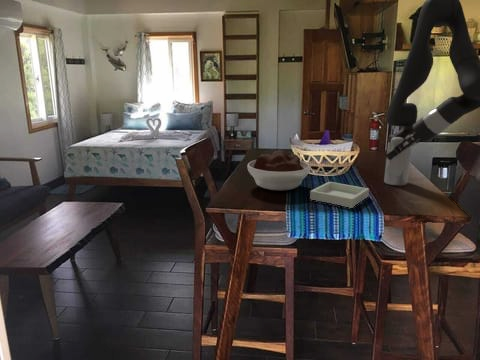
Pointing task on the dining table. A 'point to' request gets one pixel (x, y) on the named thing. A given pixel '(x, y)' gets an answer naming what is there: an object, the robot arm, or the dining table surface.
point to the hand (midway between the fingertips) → (389, 156)
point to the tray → (339, 194)
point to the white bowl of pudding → (278, 171)
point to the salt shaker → (395, 159)
